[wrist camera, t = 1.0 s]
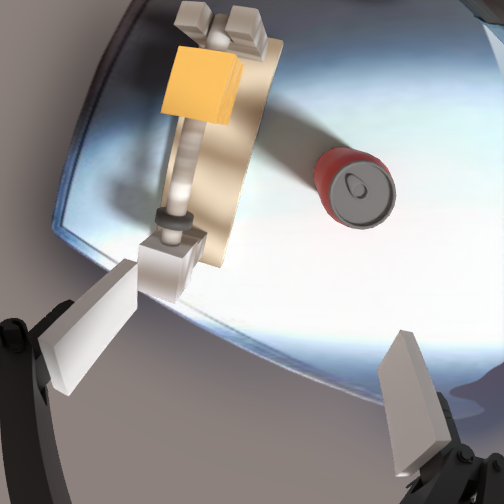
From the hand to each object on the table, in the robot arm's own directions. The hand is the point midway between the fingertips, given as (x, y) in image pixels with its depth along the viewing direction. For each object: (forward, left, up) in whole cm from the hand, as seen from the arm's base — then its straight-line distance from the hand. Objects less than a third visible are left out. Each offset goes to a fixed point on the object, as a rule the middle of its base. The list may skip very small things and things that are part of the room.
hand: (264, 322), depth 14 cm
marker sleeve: (-11, -10, -17) cm, 22 cm away
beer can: (-6, +5, -24) cm, 25 cm away
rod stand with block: (-5, -10, -24) cm, 26 cm away
